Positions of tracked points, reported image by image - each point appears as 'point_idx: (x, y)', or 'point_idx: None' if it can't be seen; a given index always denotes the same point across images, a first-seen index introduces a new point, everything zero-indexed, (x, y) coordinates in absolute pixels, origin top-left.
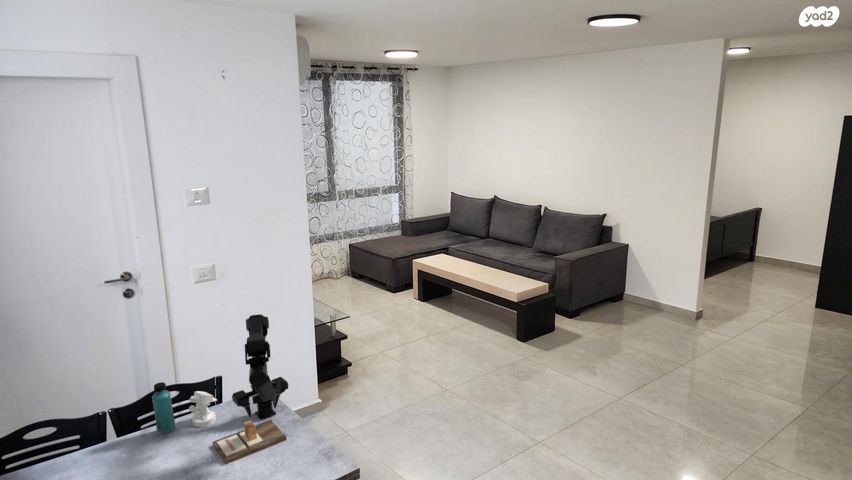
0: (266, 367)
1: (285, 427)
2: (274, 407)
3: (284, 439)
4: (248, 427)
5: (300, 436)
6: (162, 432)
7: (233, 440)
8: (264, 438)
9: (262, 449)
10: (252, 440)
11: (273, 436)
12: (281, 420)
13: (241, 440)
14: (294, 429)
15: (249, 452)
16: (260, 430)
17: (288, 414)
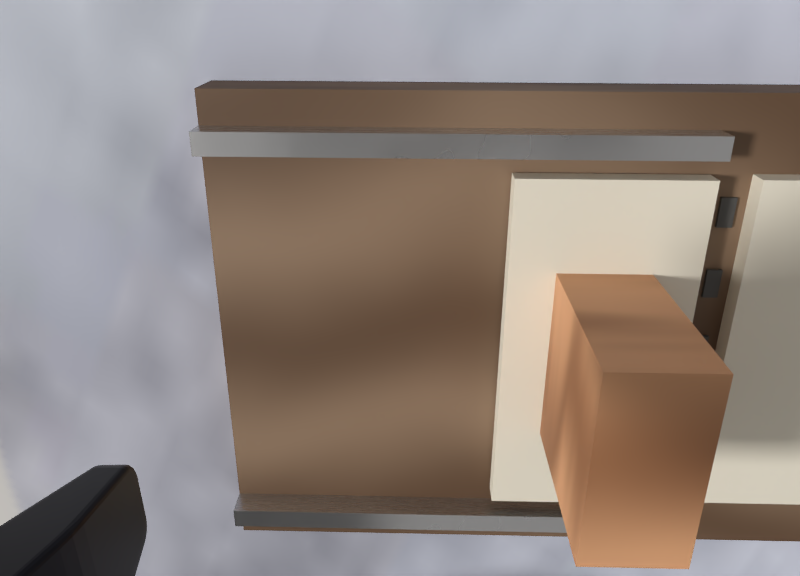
0: None
1: (137, 342)
2: (130, 497)
3: (232, 83)
4: (716, 412)
5: (15, 31)
6: None
7: (785, 419)
8: (460, 238)
9: (553, 84)
10: (623, 268)
11: (344, 205)
12: None
13: None
14: (49, 237)
15: (746, 90)
16: (424, 423)
17: None
